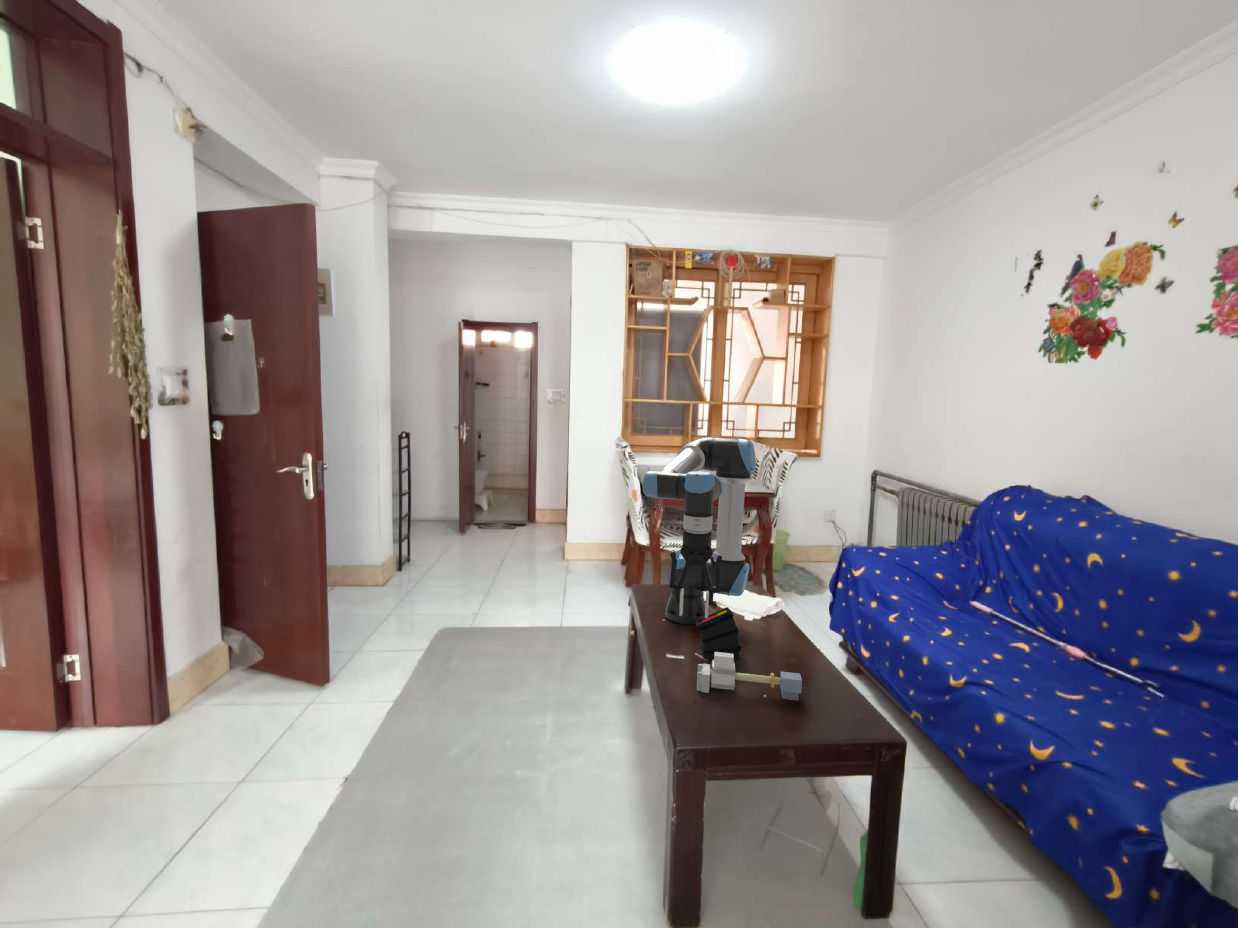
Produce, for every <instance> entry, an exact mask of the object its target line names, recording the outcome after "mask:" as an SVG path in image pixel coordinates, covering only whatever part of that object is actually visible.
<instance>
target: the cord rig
mask: <svg viewBox="0 0 1238 928" xmlns="http://www.w3.org/2000/svg"><path fill="white" fill-rule="evenodd" d="M696 675H697V676H696V691H698V692H701V693H705V694H706V693H708V694H709V693H710V682H711V679H710V678H711V677H712V669H711V664H710V663H709V664H708V663H698V664H697V672H696ZM802 679H803V678H802V676H801V673H800V672H799V673H798V672H797V673H796V672H791V671H790V672H789V671H780V675H779V677H777V676H775V673H774V672H770V674H769V675H761V674H752V673H743V672H736V671H735V680H736V681H745V682H754V683H763V684H769V687H770V688H772V689H774V688H775V685H778V686H779V687H780V691H781V693H780V694H781V698H782V699H783V700H788V701H789V700H790V701H798V702H799V701H800V700H799V697H800V694H802V687H803V680H802Z"/></svg>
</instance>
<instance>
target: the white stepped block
mask: <svg viewBox="0 0 1238 928" xmlns="http://www.w3.org/2000/svg"><path fill="white" fill-rule="evenodd" d="M734 660H735V658H734V654H731V653H721V652H715V654H714V658H713V659H712V661H711V670H712V677H710V678H711V679H710V682H711V684H710V688H713V689H721V690H730V691H734V690H735V683H736V681H735V672H736V663H735V661H734Z"/></svg>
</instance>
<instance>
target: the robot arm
mask: <svg viewBox="0 0 1238 928" xmlns="http://www.w3.org/2000/svg"><path fill="white" fill-rule="evenodd" d="M756 460H757V459H756V452H755V446H754V444H753V442H752V441H751V440H750V439H744V438H739V437H738V438H727V437H726V438H725V437H710V436H709V437H701V438H699V439H696V440H693V441H691V442H688V443H687V444H685V445H684V446H682V447H681V448H680V450H679V451H678V453H677V456H675V457H674V459H672V460H671V461H670V462H669V463H668V464H667V465H665V466H664V467H663V468H662V469H661V470H659V471H656V470H654V471H653V470H652V471H651V470H650V471H646V472H645V474H644V476H643V479H642V492H643V494H644V495H645V497H649V498H654V499H664V500H665V499H666V500H678V501H683V503H684V505H683V524H682V528H683V529H684V530H683V531H682V546H681V548H680V549H678V550H676V549H672V550H671V551H670V558H671V561H672V562H671V569H670V577H669V586H668V587H669V588H670V589H671V590H670V595H669V599H668V601H667V604H666V606H665V614H664V615H665V617H666V619H668V621H671V622H674V623H677V624H680V625H681V624H682V625H696V624H697V623H696V621H697V620H699V619H702V618H704V617H705V618H708V615H709V606H713V605H714V594H718V595H725V596H728V597H729V596H730V597H741V596H742V595H743V594H744V592H745V588H746V586H747V583H748V577H749V574H750V573H749V572H750V564H749V563H748V562H746V557H745V556H744V554H743V552H742V542H743V539H742V538H743V528H744V527H743V525H744V510H745V508H744V507H745V493H746V483H748V482H749V481H750V480H751V475H755V473H756V462H757V461H756ZM712 472H715V473H714V474H713V473H712ZM717 500H718V506H717V507H718V510H717V523H716V524H717V526H716V527H717V528H716V542H715V545H716V546H715V550H714V551H713V549H712V540H713V539H712V537H713V536H712V535H713V534H712V532H711V531H712V530H713V517H714V516H713V511H714V502H715V501H717ZM704 592H705V593H704ZM704 594H705V597H704Z"/></svg>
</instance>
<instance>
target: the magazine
mask: <svg viewBox="0 0 1238 928" xmlns="http://www.w3.org/2000/svg"><path fill="white" fill-rule="evenodd" d="M734 617H735V615H734V613H733V612H732V610H731V609H730V608H729V607H724V608H721V609H720V610H718V611H716V612H712V613H711V614H708V618H705V617H704V618H702V619H699V620H697V621H696V623H697V624H695V626H696V628H697V630H698V632H699V633H700V640H701V642H702V646H700V649H701V652H702V656H703V658H704V659H714V654H715V652H721V653H731V654H734V659H740V652H741V649H742V647H741V645H740V637H739V632H740V630H739V628H738V627H737V625H736V624H737V623H736V620H735V618H734Z"/></svg>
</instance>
